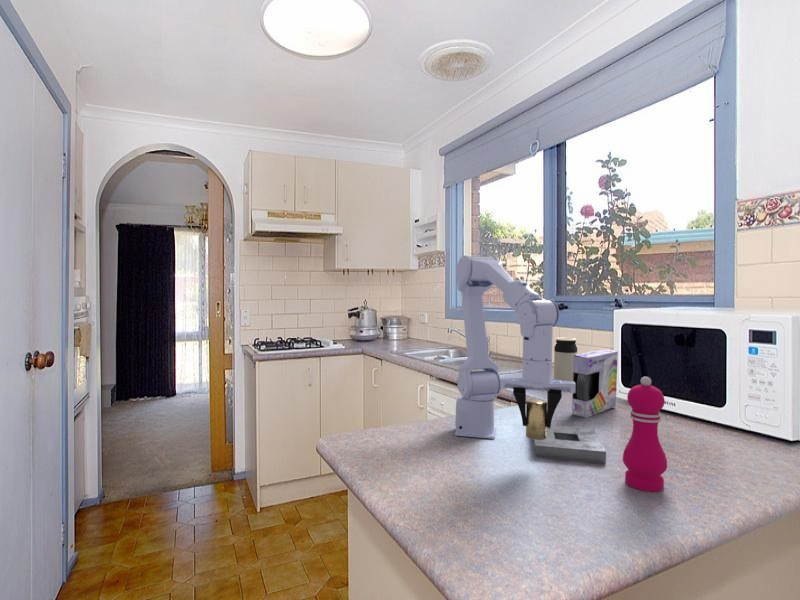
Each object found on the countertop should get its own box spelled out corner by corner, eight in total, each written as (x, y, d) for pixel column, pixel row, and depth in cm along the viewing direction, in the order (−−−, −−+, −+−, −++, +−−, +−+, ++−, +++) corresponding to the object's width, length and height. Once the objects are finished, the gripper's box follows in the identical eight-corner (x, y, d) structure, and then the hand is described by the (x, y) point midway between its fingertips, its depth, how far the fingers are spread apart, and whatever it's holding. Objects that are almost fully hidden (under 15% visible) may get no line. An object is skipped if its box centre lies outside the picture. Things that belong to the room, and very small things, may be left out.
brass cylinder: (526, 438, 91) (526, 404, 91) (525, 432, 95) (526, 399, 95) (547, 440, 90) (547, 405, 90) (545, 434, 94) (546, 400, 94)
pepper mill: (662, 479, 86) (664, 374, 86) (671, 495, 79) (673, 381, 79) (619, 474, 88) (621, 372, 88) (625, 489, 82) (627, 378, 81)
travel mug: (580, 389, 164) (580, 339, 164) (558, 389, 165) (558, 339, 164) (572, 384, 172) (572, 337, 172) (551, 384, 173) (551, 337, 172)
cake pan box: (585, 419, 126) (586, 355, 126) (568, 415, 130) (569, 353, 130) (618, 408, 138) (619, 350, 138) (602, 405, 142) (603, 348, 142)
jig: (535, 456, 97) (535, 445, 97) (533, 434, 113) (533, 424, 113) (605, 463, 94) (606, 451, 94) (593, 439, 109) (593, 428, 109)
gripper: (499, 360, 90) (498, 428, 90) (577, 363, 86) (576, 434, 87) (501, 355, 97) (500, 418, 97) (573, 358, 93) (572, 424, 94)
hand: (536, 425), depth 92 cm, fingers closed on brass cylinder, 4 cm apart
